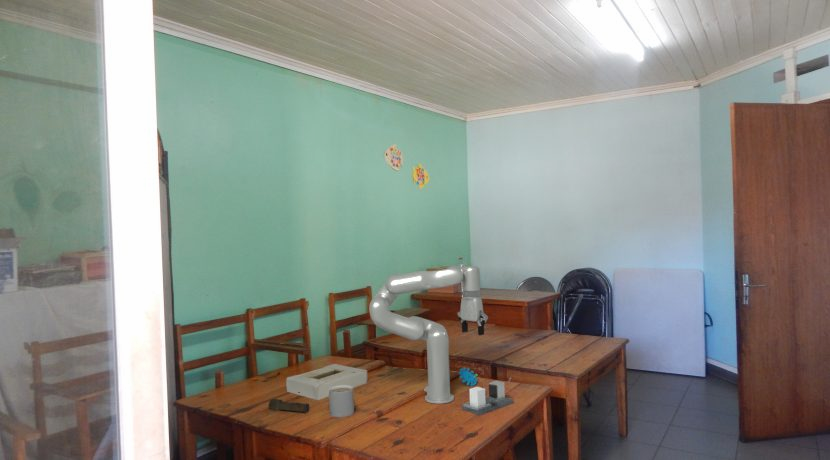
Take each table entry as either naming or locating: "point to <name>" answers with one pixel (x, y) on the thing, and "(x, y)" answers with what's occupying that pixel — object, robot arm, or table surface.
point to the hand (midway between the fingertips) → (472, 333)
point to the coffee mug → (341, 401)
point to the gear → (468, 376)
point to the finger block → (477, 396)
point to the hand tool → (288, 406)
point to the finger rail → (491, 400)
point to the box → (325, 380)
